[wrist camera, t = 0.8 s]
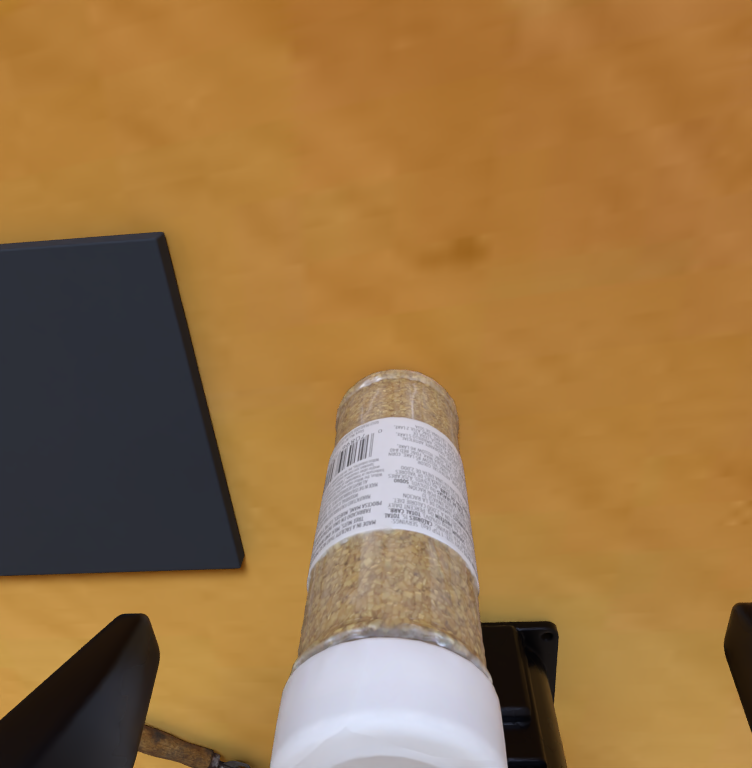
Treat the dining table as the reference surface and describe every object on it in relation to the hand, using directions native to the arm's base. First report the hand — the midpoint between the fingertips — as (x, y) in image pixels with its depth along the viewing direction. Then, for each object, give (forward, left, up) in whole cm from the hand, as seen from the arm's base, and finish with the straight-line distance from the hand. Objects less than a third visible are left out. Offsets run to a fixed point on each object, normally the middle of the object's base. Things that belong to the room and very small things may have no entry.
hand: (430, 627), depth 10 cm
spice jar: (-4, +1, -13) cm, 14 cm away
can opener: (-24, +13, -13) cm, 30 cm away
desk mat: (-4, +18, -13) cm, 23 cm away
